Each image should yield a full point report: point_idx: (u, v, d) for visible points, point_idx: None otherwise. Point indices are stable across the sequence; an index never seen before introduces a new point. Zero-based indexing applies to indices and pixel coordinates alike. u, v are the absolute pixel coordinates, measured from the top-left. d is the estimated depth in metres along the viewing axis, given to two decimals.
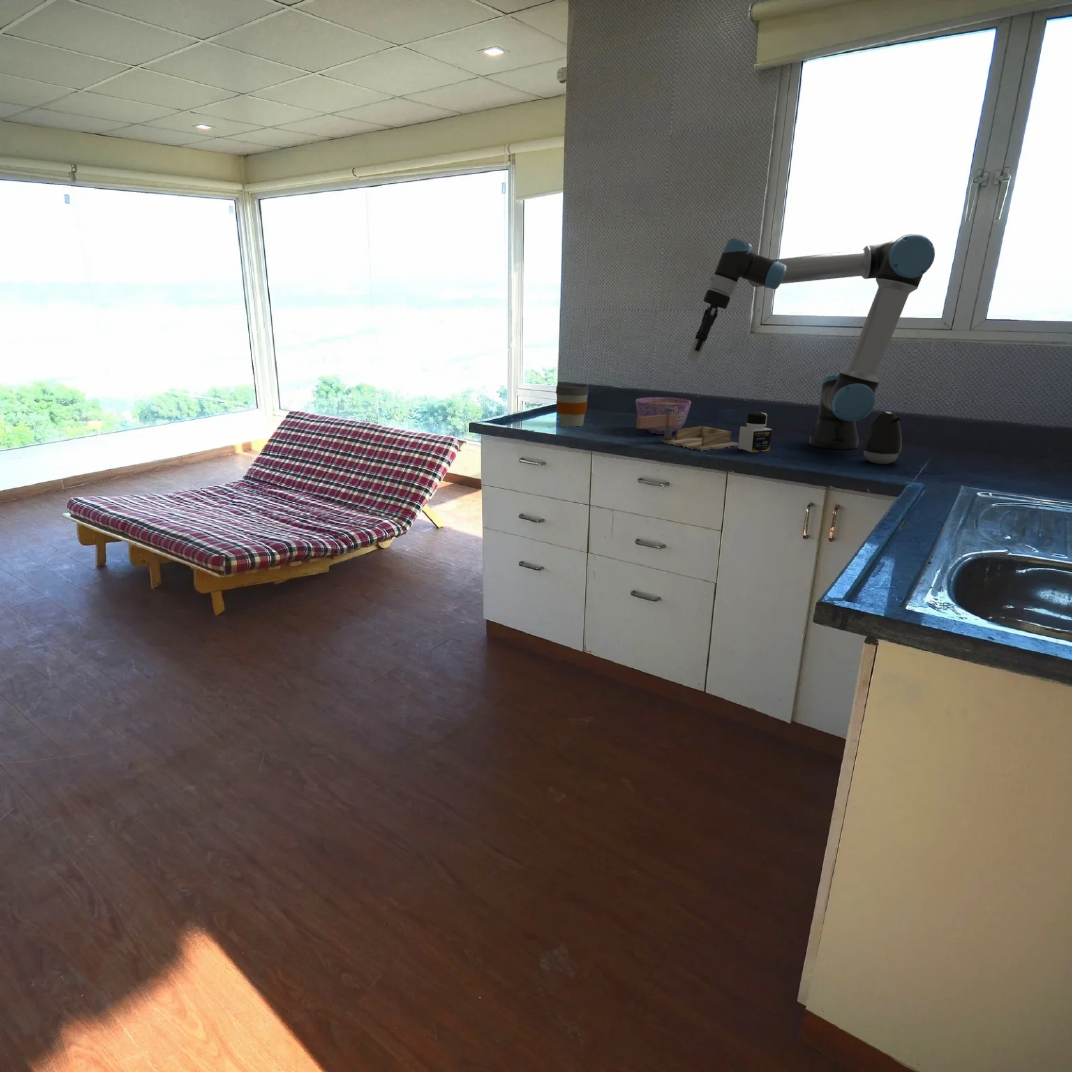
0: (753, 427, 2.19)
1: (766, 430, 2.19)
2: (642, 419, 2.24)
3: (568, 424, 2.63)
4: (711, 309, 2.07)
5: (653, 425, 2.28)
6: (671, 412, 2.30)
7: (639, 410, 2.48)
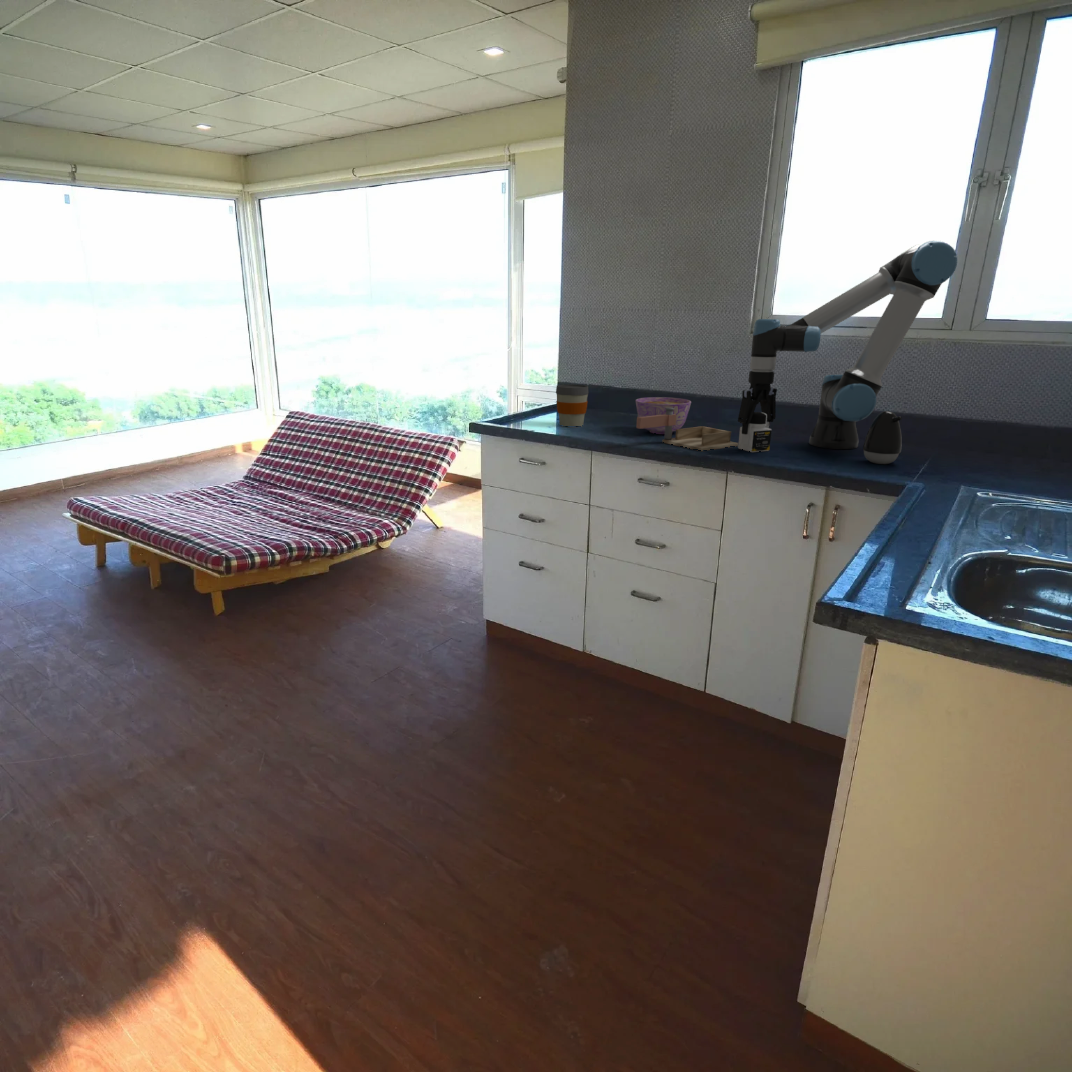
0: (753, 427, 2.19)
1: (766, 430, 2.19)
2: (642, 419, 2.24)
3: (568, 424, 2.63)
4: (743, 392, 2.14)
5: (653, 425, 2.28)
6: (671, 412, 2.30)
7: (639, 410, 2.48)
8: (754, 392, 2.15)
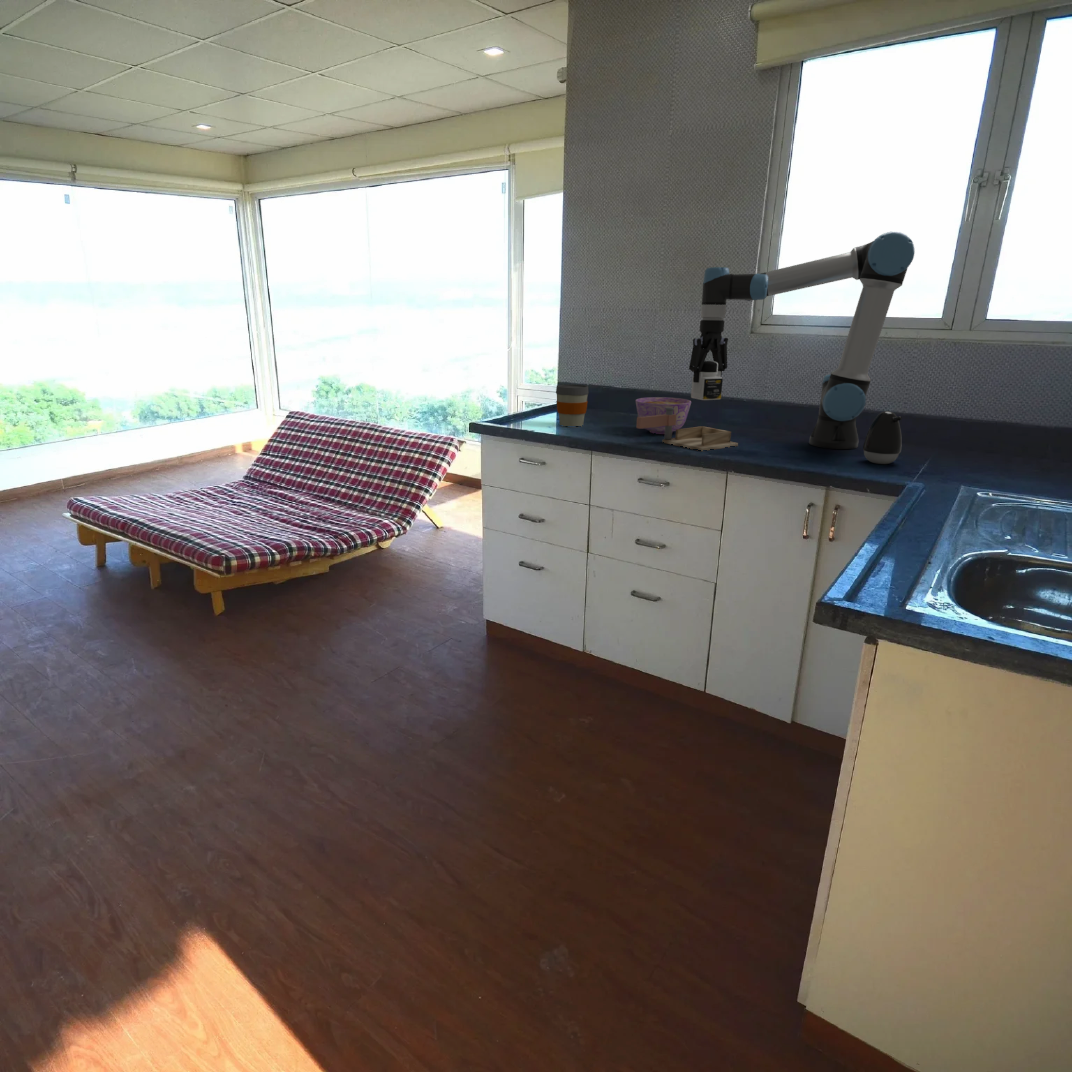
0: (704, 375, 2.23)
1: (717, 378, 2.23)
2: (642, 419, 2.24)
3: (568, 424, 2.63)
4: (694, 340, 2.19)
5: (653, 425, 2.28)
6: (671, 412, 2.30)
7: (639, 410, 2.48)
8: (704, 340, 2.19)
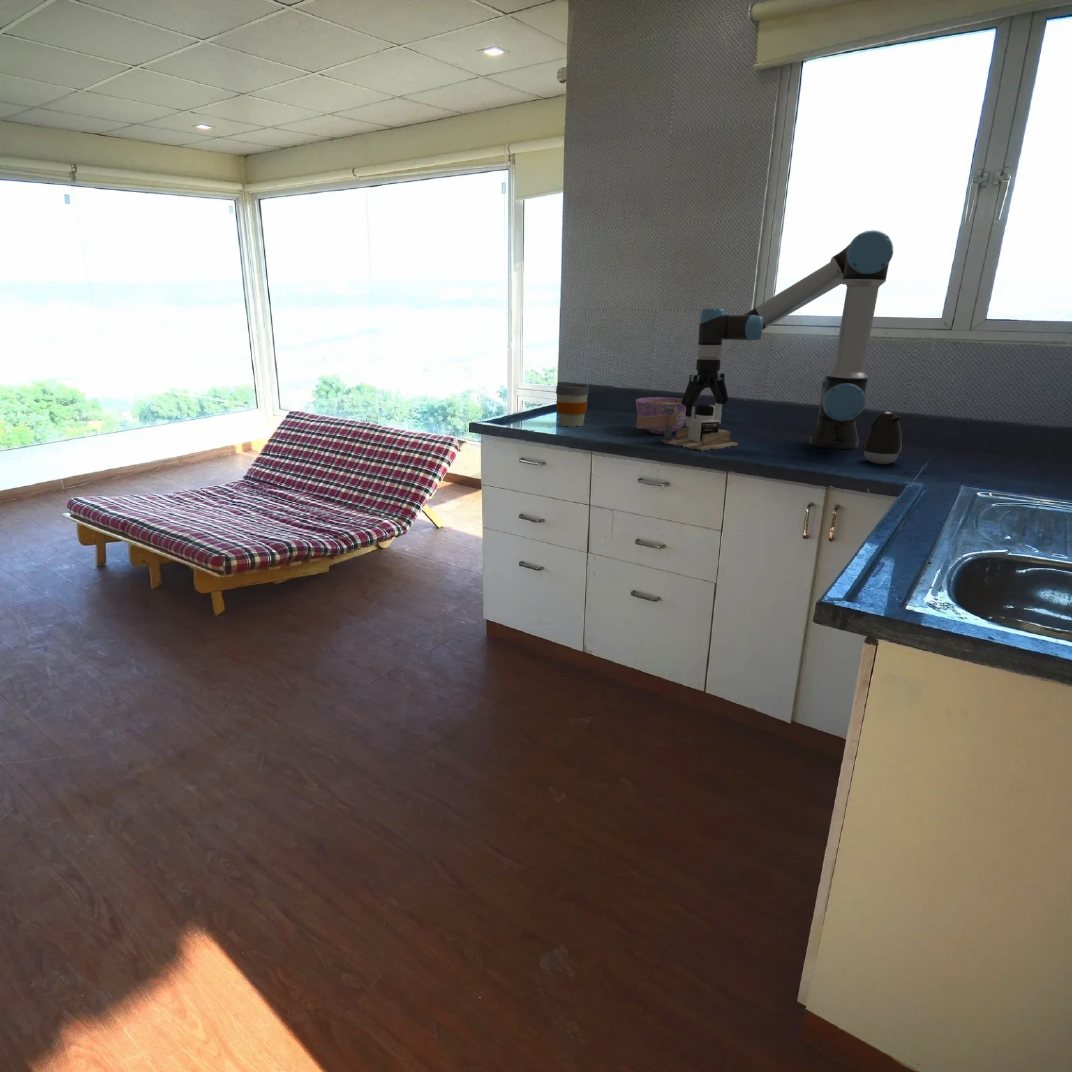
0: (701, 419, 2.27)
1: (714, 422, 2.27)
2: (642, 419, 2.24)
3: (568, 424, 2.63)
4: (691, 376, 2.22)
5: (653, 425, 2.28)
6: (671, 412, 2.30)
7: (639, 410, 2.48)
8: (701, 379, 2.23)
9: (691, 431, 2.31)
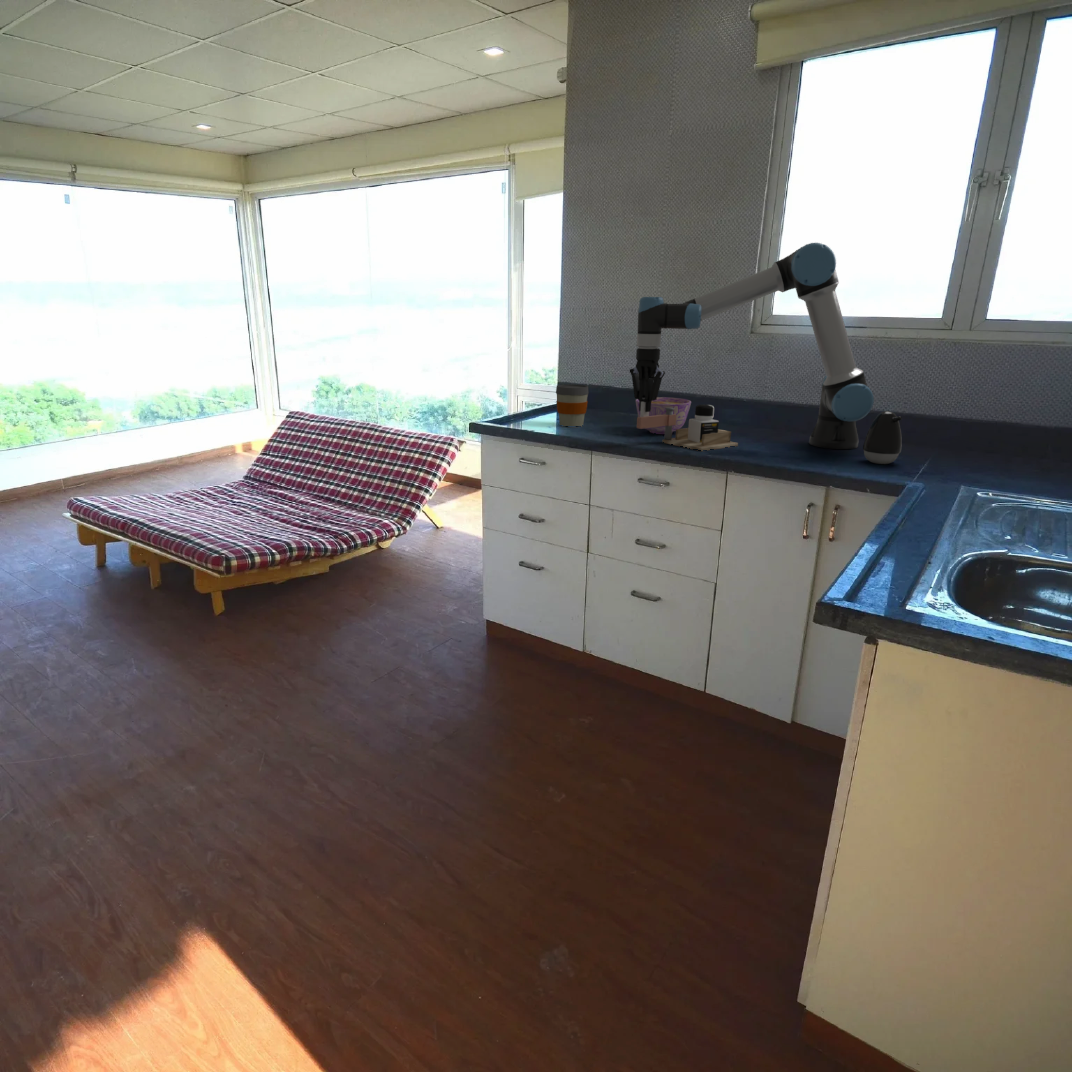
0: (701, 419, 2.27)
1: (713, 422, 2.27)
2: (642, 419, 2.24)
3: (568, 424, 2.63)
4: None
5: (653, 425, 2.28)
6: (671, 412, 2.30)
7: None
8: (636, 367, 2.25)
9: (691, 431, 2.31)
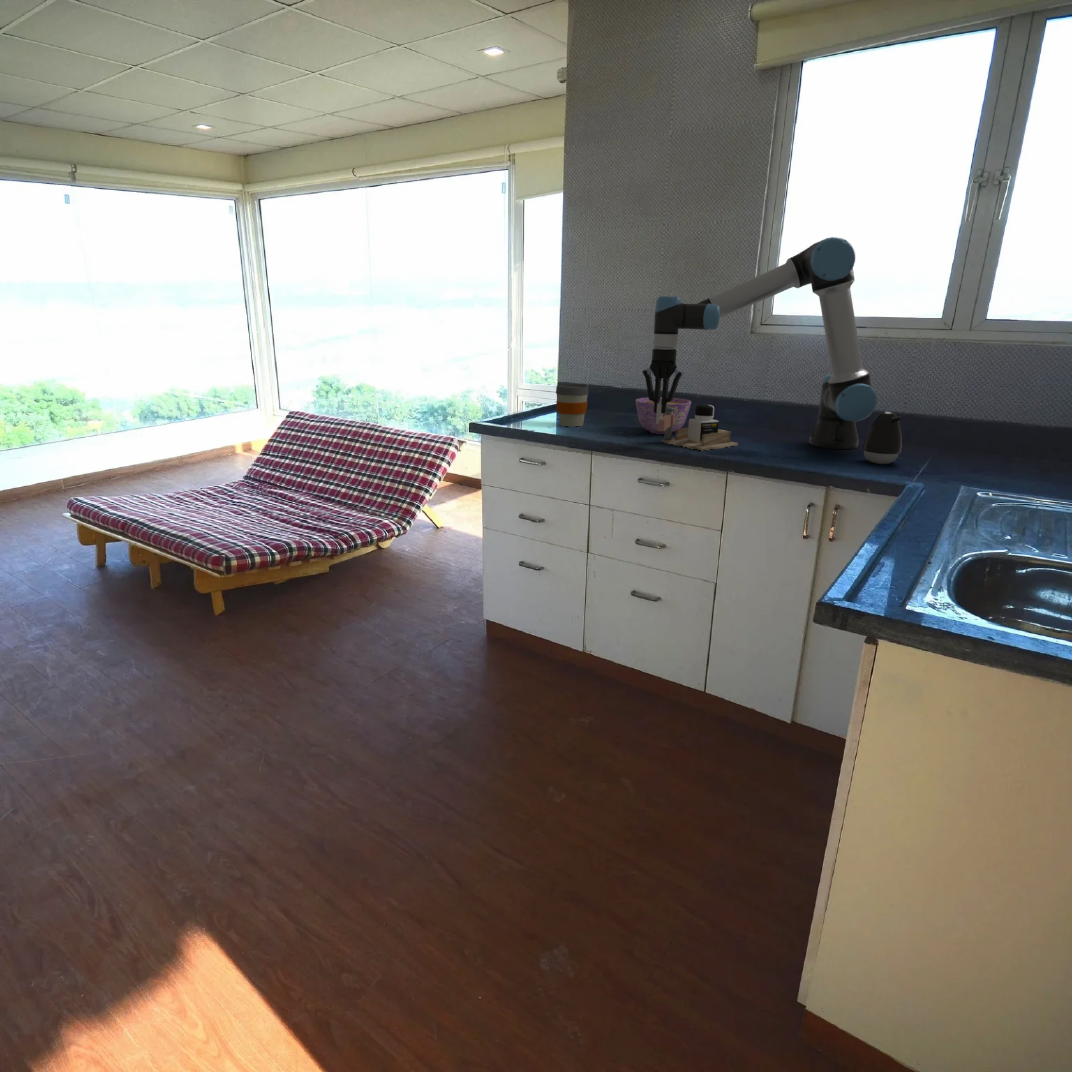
0: (701, 419, 2.27)
1: (713, 422, 2.27)
2: (665, 421, 2.20)
3: (568, 424, 2.63)
4: None
5: (667, 426, 2.25)
6: (672, 412, 2.31)
7: (639, 410, 2.48)
8: (651, 368, 2.19)
9: (691, 431, 2.31)
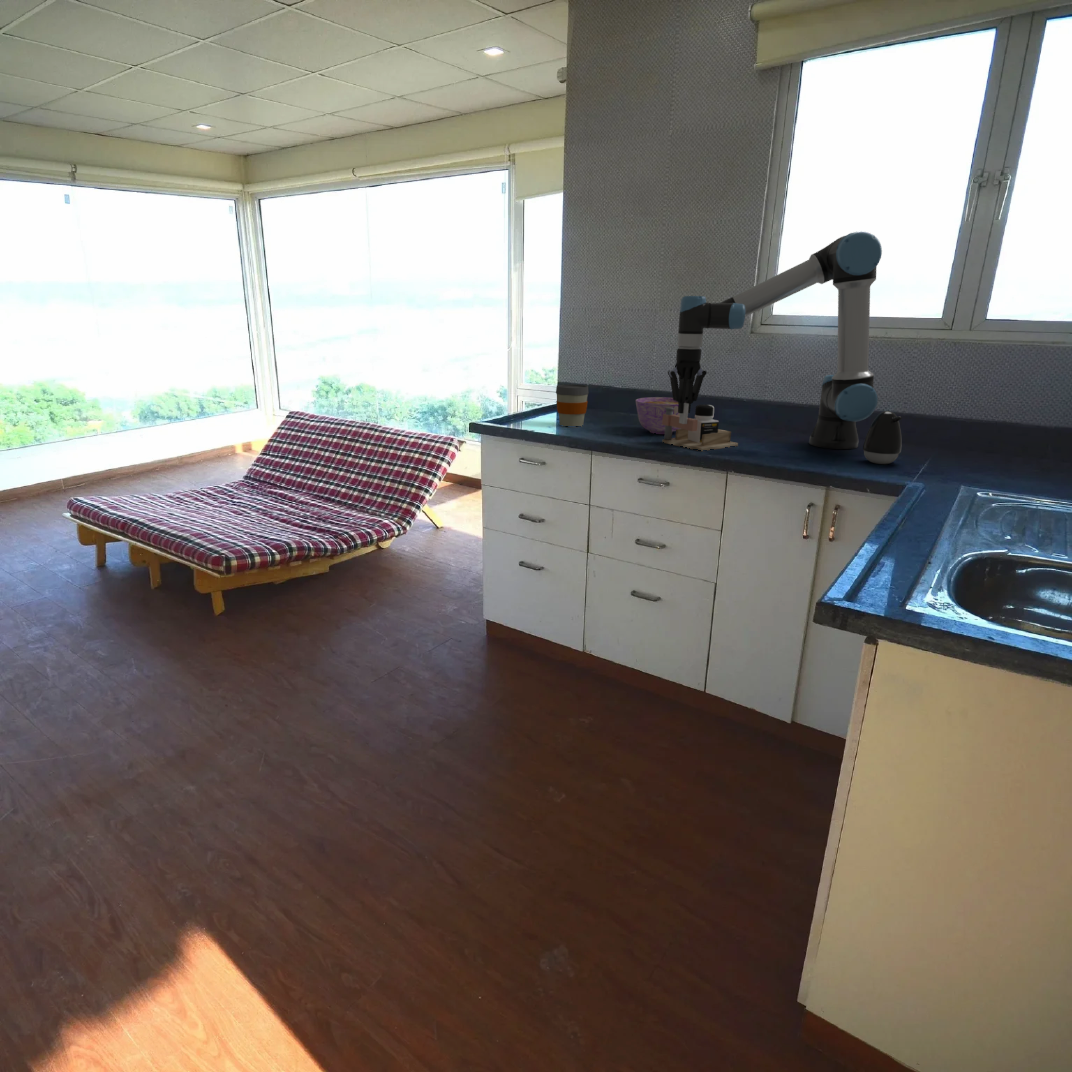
0: (701, 419, 2.27)
1: (713, 422, 2.27)
2: None
3: (568, 424, 2.63)
4: (668, 373, 2.17)
5: None
6: None
7: (639, 410, 2.48)
8: (678, 369, 2.16)
9: (691, 431, 2.31)
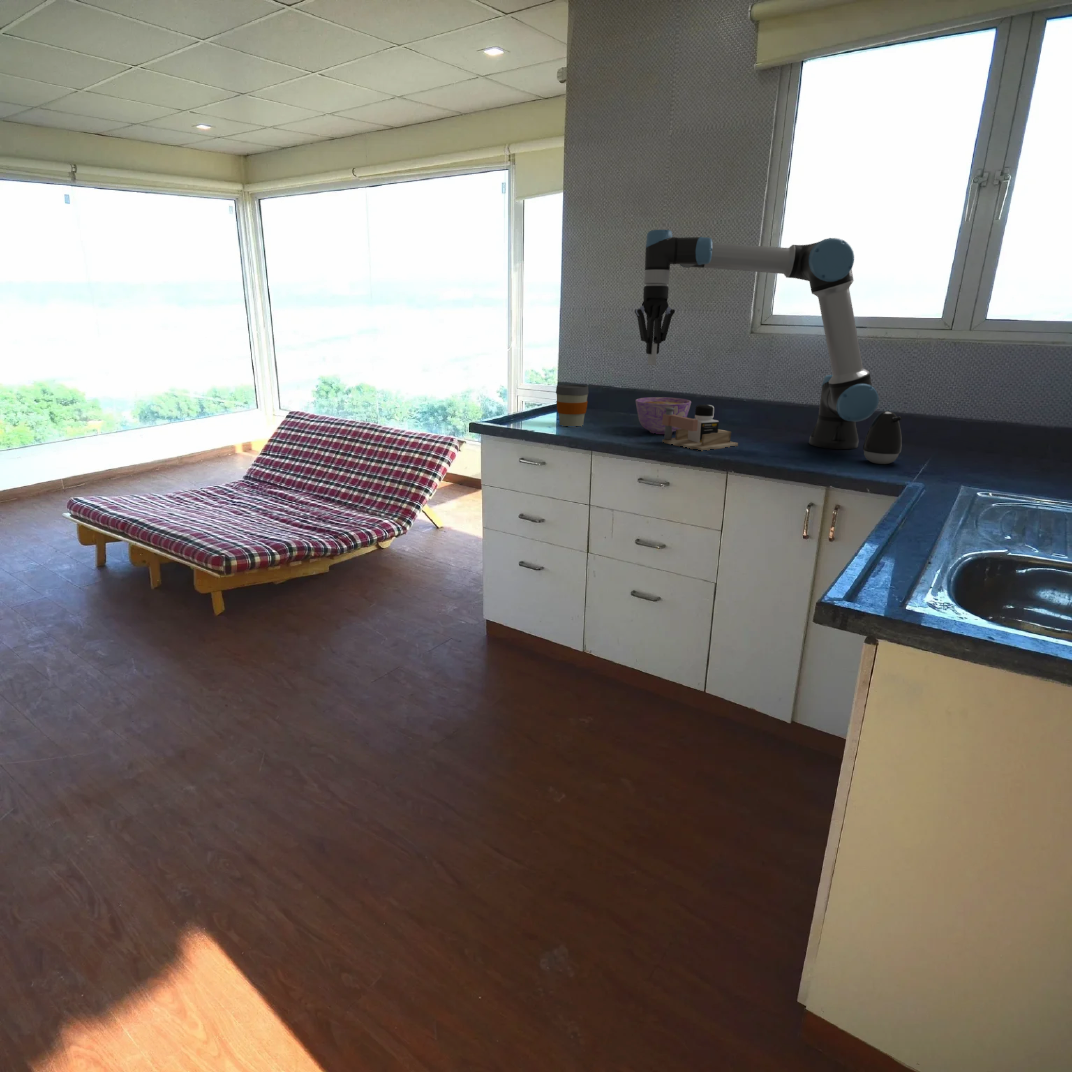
0: (701, 419, 2.27)
1: (713, 422, 2.27)
2: None
3: (568, 424, 2.63)
4: (635, 312, 2.11)
5: None
6: None
7: (639, 410, 2.48)
8: (645, 307, 2.10)
9: (691, 431, 2.31)
